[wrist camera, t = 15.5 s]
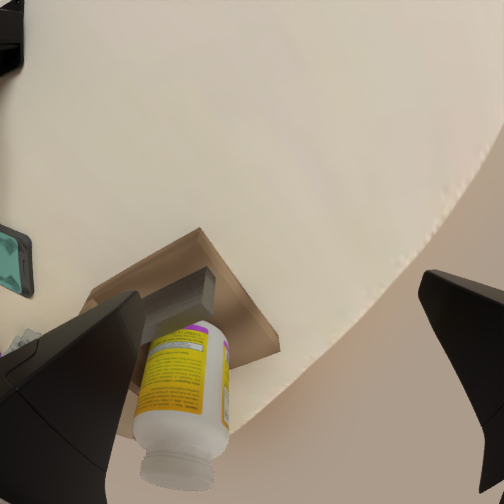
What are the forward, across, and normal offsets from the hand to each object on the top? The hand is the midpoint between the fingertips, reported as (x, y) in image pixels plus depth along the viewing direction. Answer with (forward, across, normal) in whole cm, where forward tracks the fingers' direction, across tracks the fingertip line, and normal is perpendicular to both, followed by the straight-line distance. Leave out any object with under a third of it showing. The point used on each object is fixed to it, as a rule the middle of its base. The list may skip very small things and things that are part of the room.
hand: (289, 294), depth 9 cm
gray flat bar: (+11, -8, -9) cm, 16 cm away
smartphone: (+14, -28, -4) cm, 32 cm away
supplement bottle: (+11, -6, -14) cm, 19 cm away
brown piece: (+13, -7, -13) cm, 19 cm away
